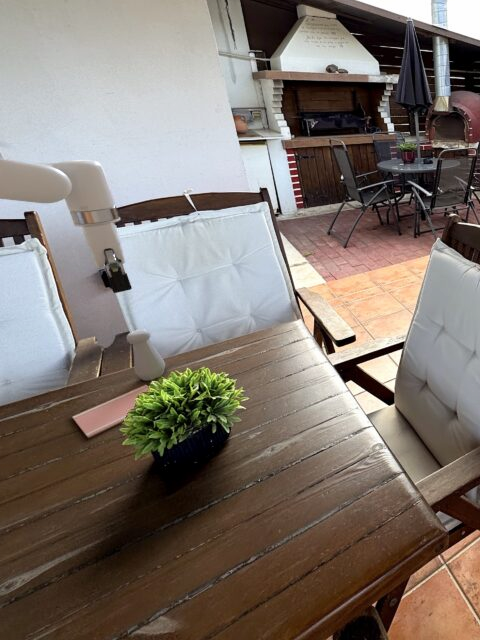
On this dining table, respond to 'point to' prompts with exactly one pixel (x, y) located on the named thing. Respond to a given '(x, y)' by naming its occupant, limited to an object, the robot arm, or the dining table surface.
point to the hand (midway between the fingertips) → (120, 285)
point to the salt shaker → (145, 355)
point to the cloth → (107, 413)
